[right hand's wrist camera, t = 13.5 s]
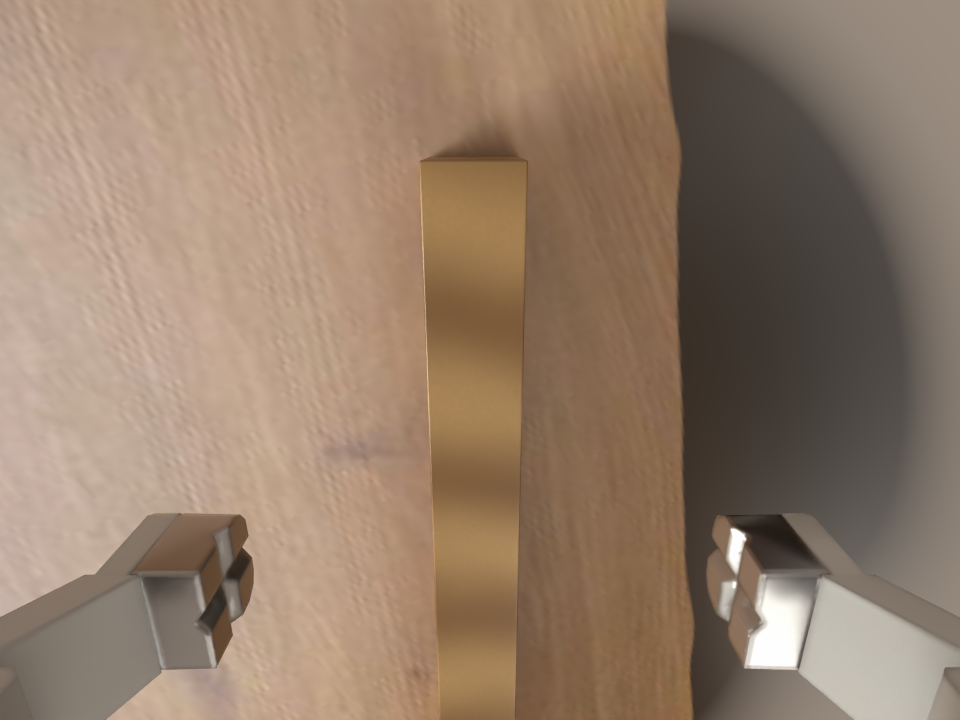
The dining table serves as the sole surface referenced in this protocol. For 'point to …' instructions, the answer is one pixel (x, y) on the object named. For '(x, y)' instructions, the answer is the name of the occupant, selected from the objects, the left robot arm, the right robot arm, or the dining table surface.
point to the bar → (475, 421)
